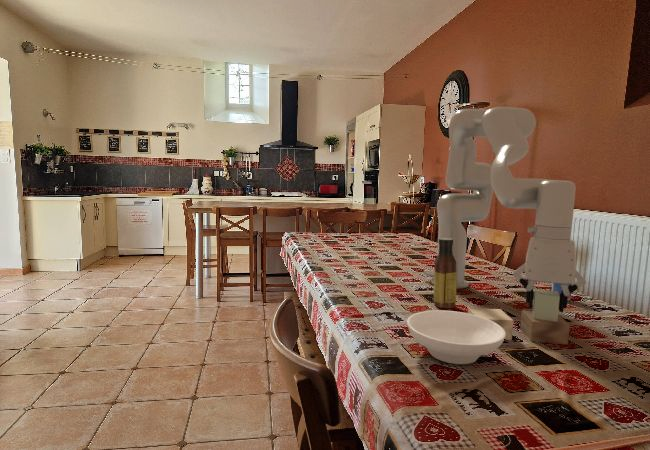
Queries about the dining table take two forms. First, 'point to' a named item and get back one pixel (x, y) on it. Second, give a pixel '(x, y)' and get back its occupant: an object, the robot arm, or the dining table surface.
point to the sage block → (546, 305)
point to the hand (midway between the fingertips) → (545, 307)
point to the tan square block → (544, 329)
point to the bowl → (455, 335)
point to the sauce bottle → (445, 275)
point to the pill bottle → (559, 289)
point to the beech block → (495, 318)
